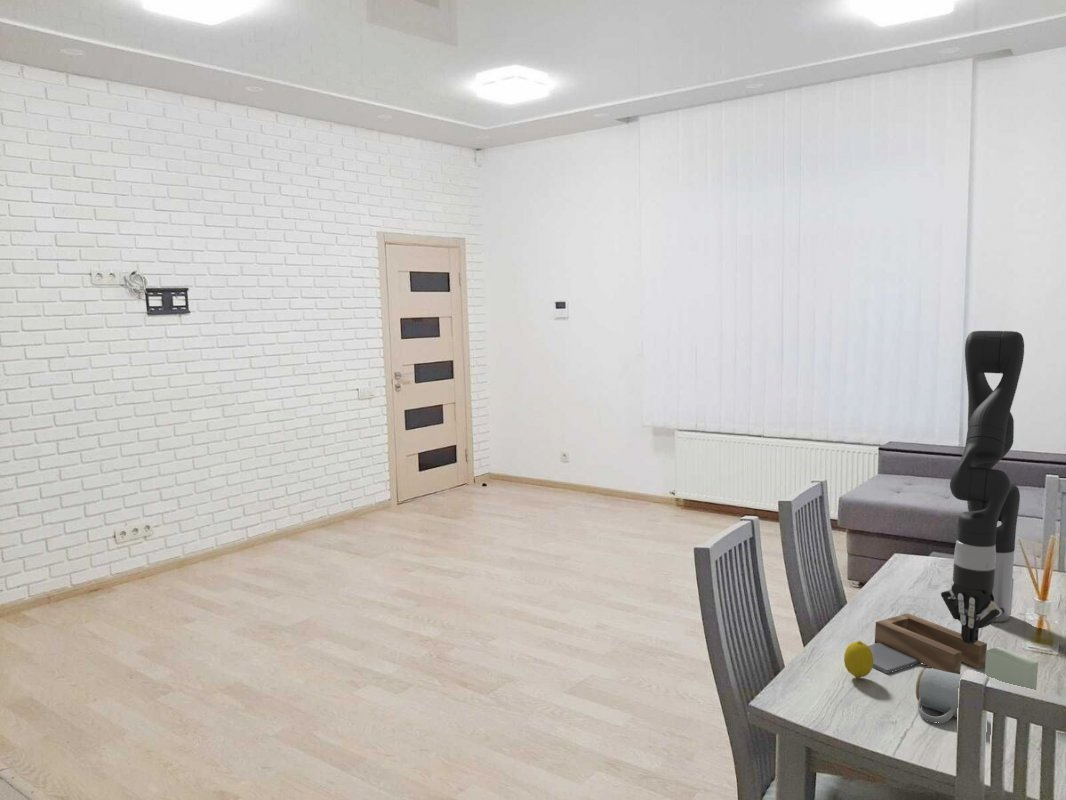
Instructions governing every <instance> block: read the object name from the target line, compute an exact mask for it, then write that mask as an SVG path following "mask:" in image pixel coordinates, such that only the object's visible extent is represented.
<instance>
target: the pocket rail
mask: <svg viewBox="0 0 1066 800" xmlns="http://www.w3.org/2000/svg"><path fill="white" fill-rule="evenodd" d="M874 628H875V631H874V644H875V643H881V644H883V645H885V646H888V647H890V648H892V649H894V650H897V651H899V652H901V653H904V654H906V655H908V656H910V657H913V658H915V659H917V660H919V662H920V663H919V664H921V663H923V664H924V665H923V664H922V665H923V666H925V665H927V666H926V667H928V668H930V667H931V669H932V668H933V669H937V670H942V671H946V672H950V673H955V674H960V675H961V670H962V669H961V668H962V667H961V666H962V663H963V662H964V664H966V665H969V666H971V667H973V668H975V669H981V668H985V662H986V651H987V650H988V643H986V642H984V641H981V640H979V639H978V641H977V642H975V643H974V644H971V645H970V644H967V643H965V642H963V639H962V637H961V633H960V632H958V631H955V630H953V629H950V628H947V627H945V626H942V625H940V624H937V623H935V622H932V621H931V620H930V621H929V620H927V619H924V618H921V617H919V616H916V615H914V614H911V613H909V612H907V613H904V614H900V615H897V616H893V617H889V618H886V619H883V620H878V621H875V627H874ZM961 661H962V662H961Z"/></svg>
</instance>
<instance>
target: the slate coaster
mask: <svg viewBox="0 0 1066 800" xmlns="http://www.w3.org/2000/svg"><path fill="white" fill-rule="evenodd" d="M867 646H868V647H869V648H870V649H871V652H872V655H873V667H872V668H874V669H876V670H877V671H880V670H881V671H880V672H882V671H883V672H882V673H884V672H885V673H884V674H886V673H888V674H890V673H889V672H891V673H893V672H892V671H894V672H896V671H895V670H897V671H899V670H898V669H900V670H902V669H901V668H903V669H906V668H909V667H908V666H910V667H912V666H911V665H913V664H916V665H918V664H919V663H918V662H919V660H917V659H915V658H913V657H910V656H908V655H906V654H904V653H901V652H899V651H897V650H894V649H892V648H890V647H888V646H885V645H883V644H881V643H876V644H875V643H873V644H871V645H867ZM917 663H918V664H917ZM913 666H914V665H913ZM905 667H906V668H905Z"/></svg>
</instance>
